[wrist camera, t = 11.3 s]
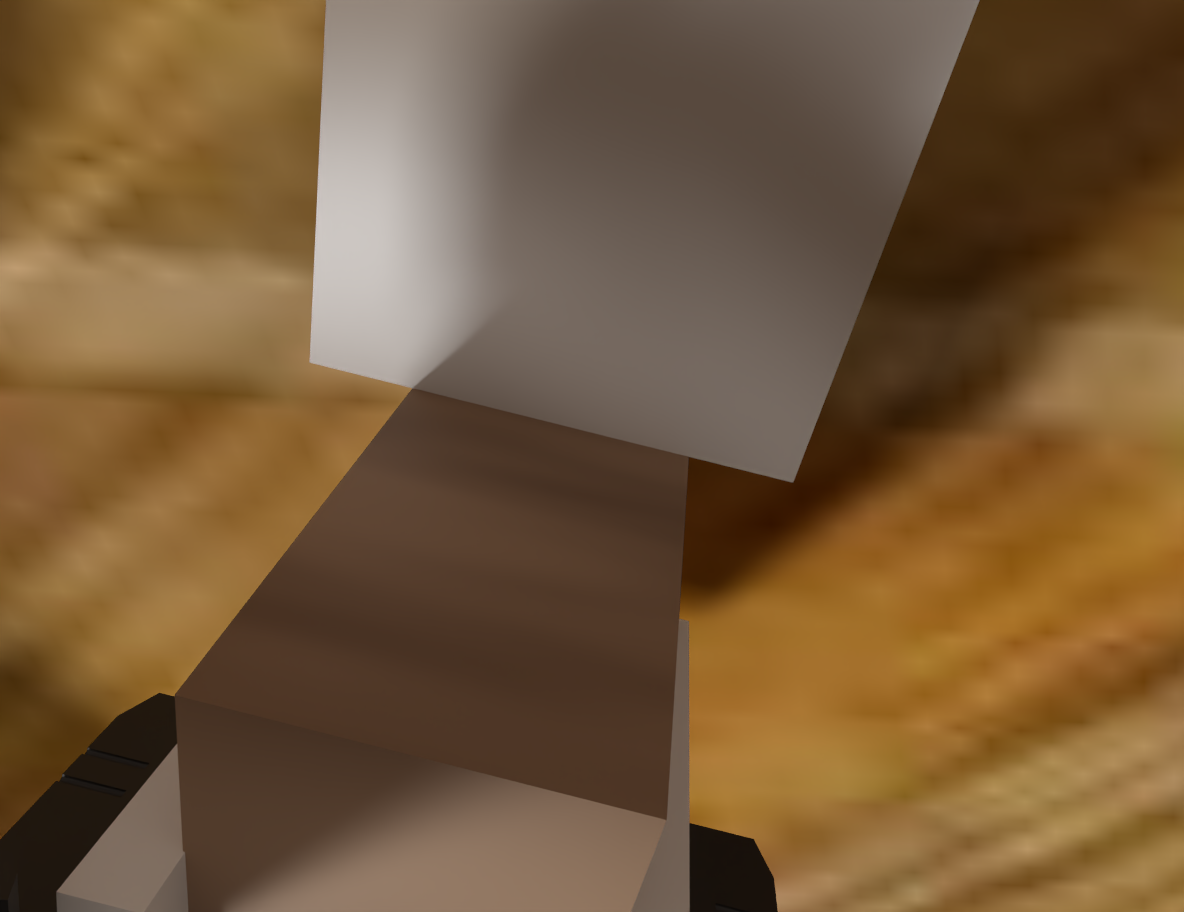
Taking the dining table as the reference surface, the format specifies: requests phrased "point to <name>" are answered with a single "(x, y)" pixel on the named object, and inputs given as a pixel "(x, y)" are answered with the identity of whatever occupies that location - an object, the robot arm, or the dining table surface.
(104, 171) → the dining table surface
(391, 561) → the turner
